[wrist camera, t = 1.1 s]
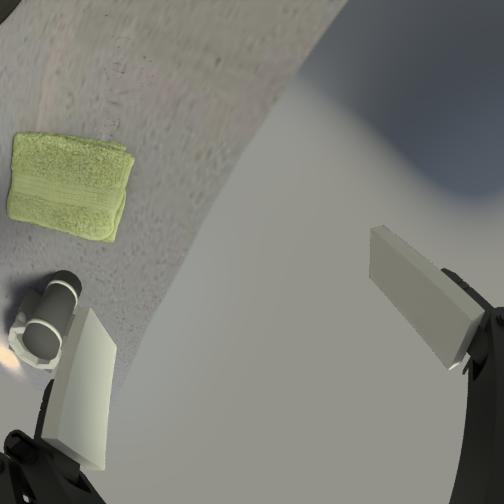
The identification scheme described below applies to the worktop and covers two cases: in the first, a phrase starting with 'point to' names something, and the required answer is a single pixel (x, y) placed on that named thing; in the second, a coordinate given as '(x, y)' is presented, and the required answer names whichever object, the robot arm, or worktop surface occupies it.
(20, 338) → the block with octagonal ring
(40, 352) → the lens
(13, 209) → the washcloth
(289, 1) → the worktop surface
